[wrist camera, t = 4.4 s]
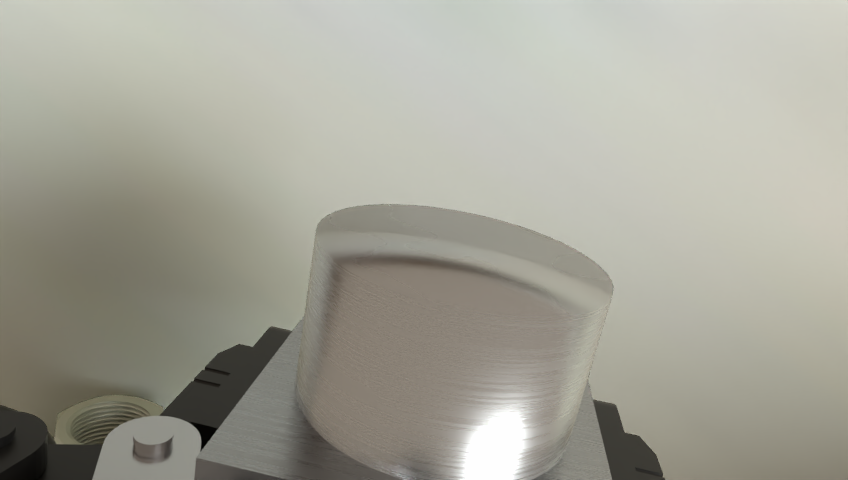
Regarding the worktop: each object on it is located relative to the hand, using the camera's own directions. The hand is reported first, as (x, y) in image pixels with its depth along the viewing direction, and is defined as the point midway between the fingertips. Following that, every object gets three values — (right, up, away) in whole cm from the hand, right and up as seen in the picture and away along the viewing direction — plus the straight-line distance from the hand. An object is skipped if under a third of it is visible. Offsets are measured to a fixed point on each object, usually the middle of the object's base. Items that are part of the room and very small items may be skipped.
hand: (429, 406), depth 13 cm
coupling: (0, 0, +1) cm, 1 cm away
